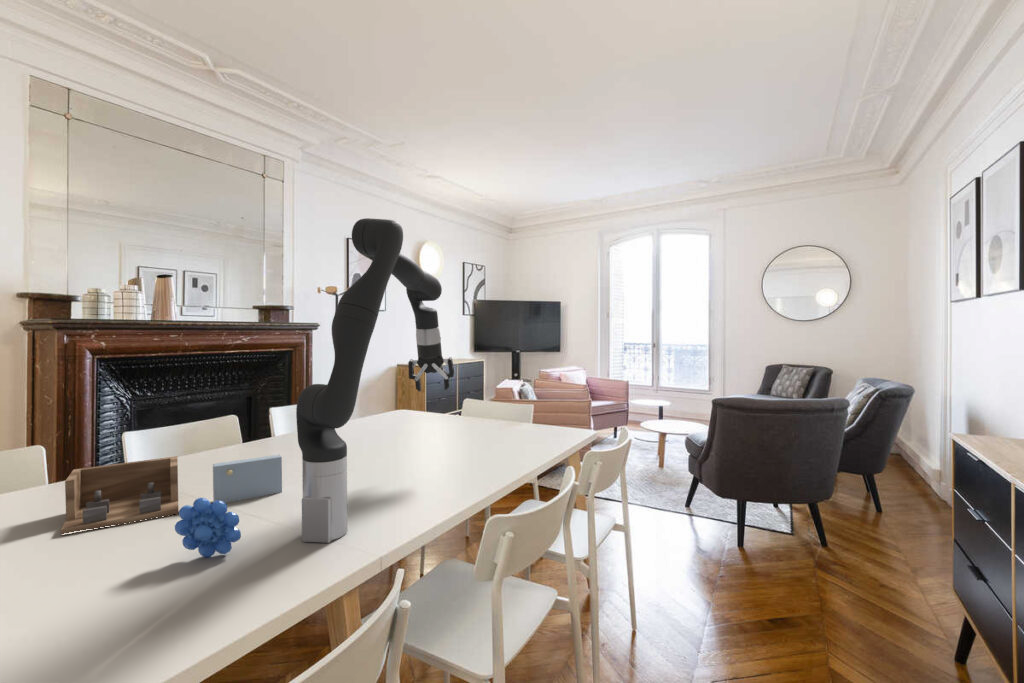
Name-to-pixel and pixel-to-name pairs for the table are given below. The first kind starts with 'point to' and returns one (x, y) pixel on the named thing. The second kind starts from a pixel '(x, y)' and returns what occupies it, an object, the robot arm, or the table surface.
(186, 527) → the blue flower
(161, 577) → the table surface
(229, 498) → the door
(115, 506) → the cabinet
